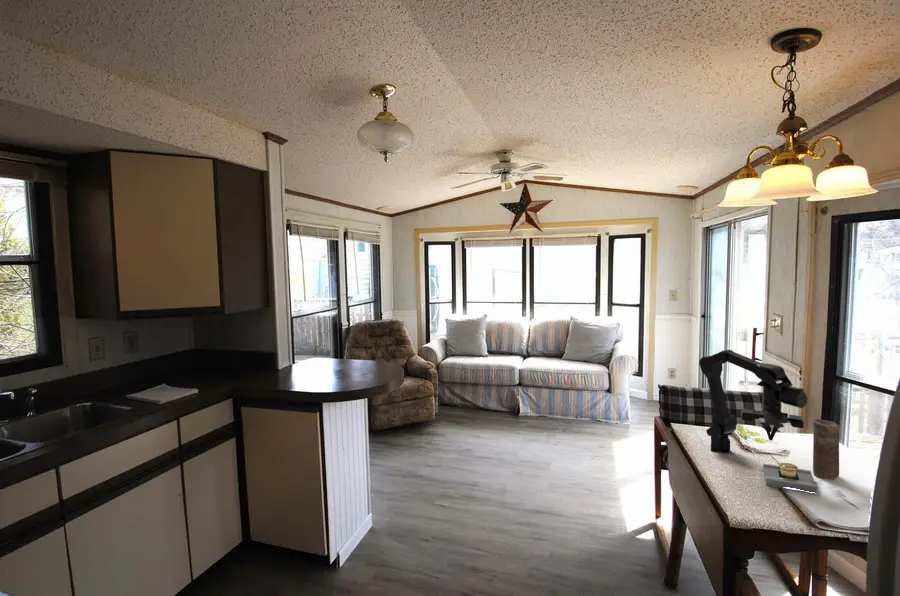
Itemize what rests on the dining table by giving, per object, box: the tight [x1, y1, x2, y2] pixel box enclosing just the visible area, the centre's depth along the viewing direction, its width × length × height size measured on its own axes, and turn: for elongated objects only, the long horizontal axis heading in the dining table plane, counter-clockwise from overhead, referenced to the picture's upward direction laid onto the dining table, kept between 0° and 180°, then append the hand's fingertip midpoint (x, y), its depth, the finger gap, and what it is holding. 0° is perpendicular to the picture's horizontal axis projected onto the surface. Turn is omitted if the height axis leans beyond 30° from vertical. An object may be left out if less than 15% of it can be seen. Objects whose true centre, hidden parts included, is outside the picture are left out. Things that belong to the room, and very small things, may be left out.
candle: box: [812, 418, 840, 480], centre depth 162 cm, size 8×7×20 cm
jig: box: [762, 462, 818, 493], centre depth 159 cm, size 14×12×3 cm
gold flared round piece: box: [778, 462, 799, 480], centre depth 159 cm, size 5×5×6 cm
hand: (770, 440), depth 168 cm, fingers closed
